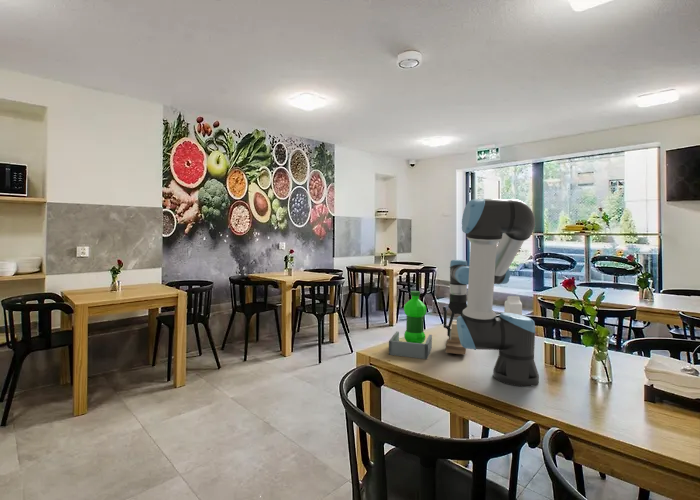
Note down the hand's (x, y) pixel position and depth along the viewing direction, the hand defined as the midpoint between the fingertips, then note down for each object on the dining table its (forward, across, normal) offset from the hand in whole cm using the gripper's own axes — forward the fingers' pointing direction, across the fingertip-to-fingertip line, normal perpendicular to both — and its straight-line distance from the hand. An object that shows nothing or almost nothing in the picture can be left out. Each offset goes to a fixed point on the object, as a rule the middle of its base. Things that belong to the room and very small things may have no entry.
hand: (457, 343), depth 171 cm
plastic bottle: (+2, +19, +2) cm, 19 cm away
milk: (+1, -25, -19) cm, 31 cm away
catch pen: (+2, +19, +13) cm, 23 cm away
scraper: (0, 0, 0) cm, 0 cm away
